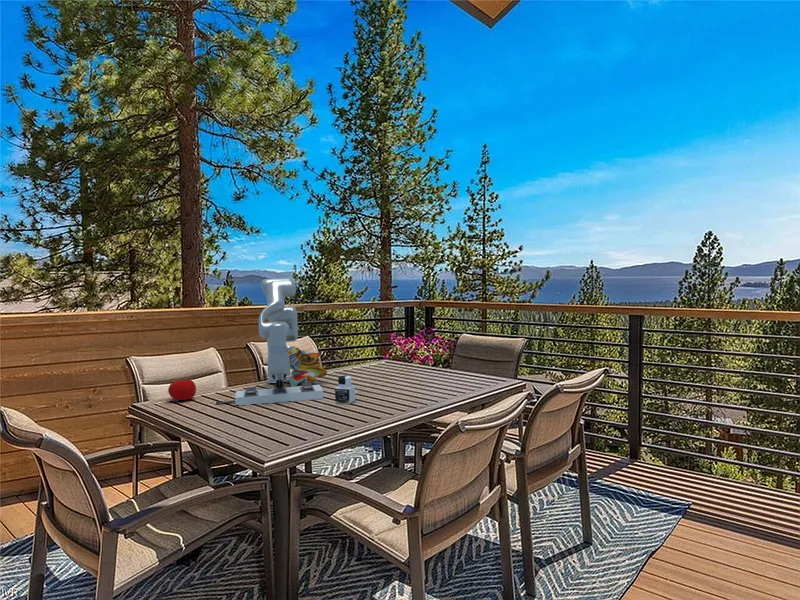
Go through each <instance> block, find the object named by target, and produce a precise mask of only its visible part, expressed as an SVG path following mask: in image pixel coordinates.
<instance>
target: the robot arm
mask: <svg viewBox="0 0 800 600" xmlns="http://www.w3.org/2000/svg"><path fill="white" fill-rule="evenodd" d="M260 285H261V290H262V292H263V294H264V296H265V298H266V304H267V305H266V306H265V307H264V308H263V309H262V311H261V312H260V314H259V316H258V334H259V337H261V339H266V344H267V377H268V379H266V380H265V382H269V383H276V384H275V385H276V387H278V389H282V387H283V386H284V382H286V383H288V381H289V382H290V377H289V376H292V372H291V369H290V361H289V354H288V352H287V350H288V349H290V348H289V347H290V346H287V343H291V342H293V343H294V342H296V341H297V340H298V338H299V328H298V311H297V308H296V307H295V306H292V305H285V303H286V301H285V298H286V297H287V298H288V297H294V296H295V295H296V292H297V288H296V287H297V286H296V285H297V284H296V282H295V280H294V279H293V278H291V277H286V278H282V277H281V278H280V277H279V278H277V277H276V278H275V277H274V278H265V279H263V280H262V281H261V283H260ZM266 320H268V321H266ZM265 321H266V322H265ZM288 377H289V378H288ZM269 383H268V384H269ZM279 383H280V384H279Z"/></svg>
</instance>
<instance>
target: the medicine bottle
mask: <svg viewBox="0 0 800 600" xmlns="http://www.w3.org/2000/svg"><path fill="white" fill-rule="evenodd" d="M337 381H338V382H337V383H338V385H337V386H336V387H335V388H334V397H335V398H334V399H335V400H334V401H335V402H334V403H335V404H343V405H344V404H345V405H347V404H348V405H349V404H350V405H351V404H352V403H353V402H355V401H356V386H355V385H352V376H350V375H340V376H339V377H338V379H337Z"/></svg>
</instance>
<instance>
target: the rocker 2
mask: <svg viewBox="0 0 800 600" xmlns="http://www.w3.org/2000/svg"><path fill="white" fill-rule="evenodd" d="M312 385H313V383H312V384H311V382H310V383H305V382H302V383H301V386H302V388H303V391H304V390H313V388H312Z"/></svg>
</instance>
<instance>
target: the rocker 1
mask: <svg viewBox="0 0 800 600" xmlns="http://www.w3.org/2000/svg"><path fill="white" fill-rule="evenodd" d="M256 390H257V386H250V387H249V386H247V387H246V388H245V391H246V395H255V394H256Z"/></svg>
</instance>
